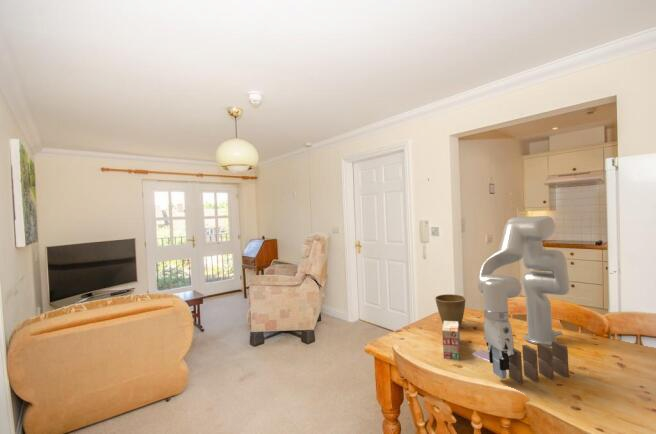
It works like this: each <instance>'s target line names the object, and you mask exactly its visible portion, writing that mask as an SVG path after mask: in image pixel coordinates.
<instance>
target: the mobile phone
mask: <svg viewBox="0 0 656 434" xmlns="http://www.w3.org/2000/svg"><path fill="white" fill-rule="evenodd" d="M489 352H490V351H488V350H485V349H479V350H477V351H475V352H472V353H471V355H472V356H474V357H476V358H479V359H481V360H484V361H486V362H489V363H490V360H489Z"/></svg>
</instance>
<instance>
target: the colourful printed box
mask: <svg viewBox="0 0 656 434" xmlns="http://www.w3.org/2000/svg"><path fill="white" fill-rule="evenodd" d="M442 324H443V325H442V329H441V333H442V347H443V349H442V350H443V360H444V359H445V360H455V361H460V357H461V350H460V349H461V347H460V346H461V337H460V336H461V335H460V329H459V323H458V322H457V321H444V323H443V322H442Z"/></svg>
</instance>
